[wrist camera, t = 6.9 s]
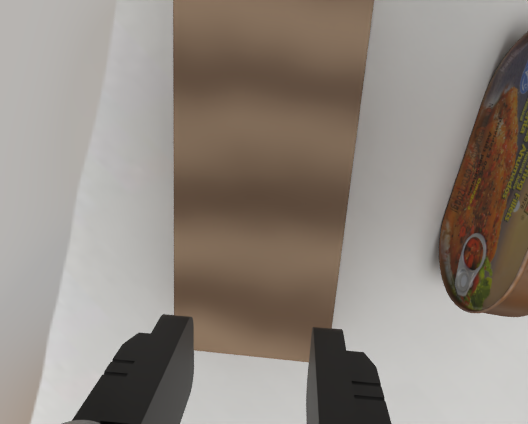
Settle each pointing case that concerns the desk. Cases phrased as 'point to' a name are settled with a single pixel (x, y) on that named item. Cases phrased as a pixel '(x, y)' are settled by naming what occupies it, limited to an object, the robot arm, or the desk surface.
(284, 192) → the walnut riser
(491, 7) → the desk surface
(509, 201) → the tin
